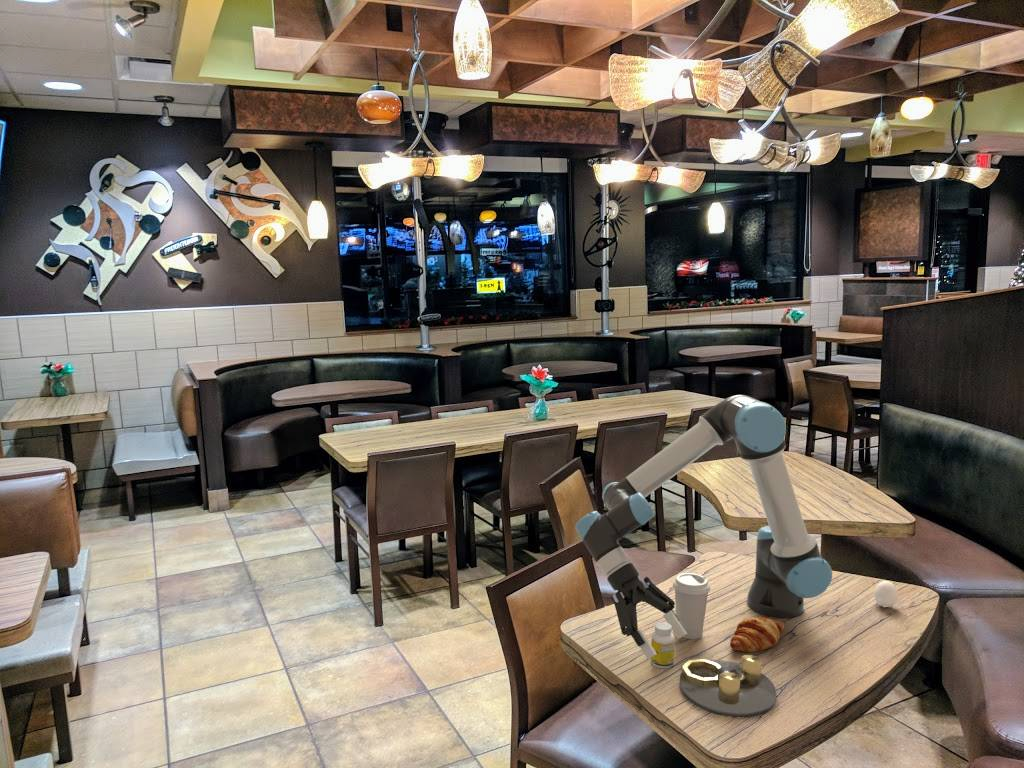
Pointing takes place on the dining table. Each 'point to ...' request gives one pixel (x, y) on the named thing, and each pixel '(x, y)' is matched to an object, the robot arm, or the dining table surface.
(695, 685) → the carrier plate
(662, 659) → the supplement bottle
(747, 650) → the croissant
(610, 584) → the robot arm
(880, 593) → the egg
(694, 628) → the coffee cup
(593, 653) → the dining table surface
